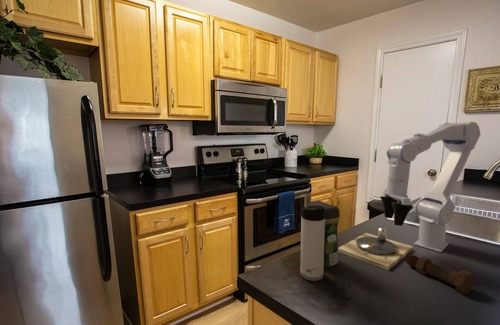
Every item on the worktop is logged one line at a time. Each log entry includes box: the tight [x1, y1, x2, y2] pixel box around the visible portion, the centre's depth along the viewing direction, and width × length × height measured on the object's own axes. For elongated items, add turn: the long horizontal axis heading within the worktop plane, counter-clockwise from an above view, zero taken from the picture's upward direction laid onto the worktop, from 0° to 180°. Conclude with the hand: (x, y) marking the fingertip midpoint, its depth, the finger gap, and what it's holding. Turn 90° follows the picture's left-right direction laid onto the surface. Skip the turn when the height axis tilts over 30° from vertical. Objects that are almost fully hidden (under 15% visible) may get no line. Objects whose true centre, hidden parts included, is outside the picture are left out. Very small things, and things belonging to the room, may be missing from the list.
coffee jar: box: [307, 200, 341, 268], centre depth 79 cm, size 10×8×19 cm
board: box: [338, 232, 414, 271], centre depth 87 cm, size 20×16×2 cm
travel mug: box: [299, 206, 325, 282], centre depth 71 cm, size 6×7×20 cm
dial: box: [356, 227, 396, 255], centre depth 87 cm, size 12×12×5 cm
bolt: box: [405, 254, 474, 295], centre depth 71 cm, size 6×5×15 cm
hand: (393, 221), depth 85 cm, fingers open, 7 cm apart
